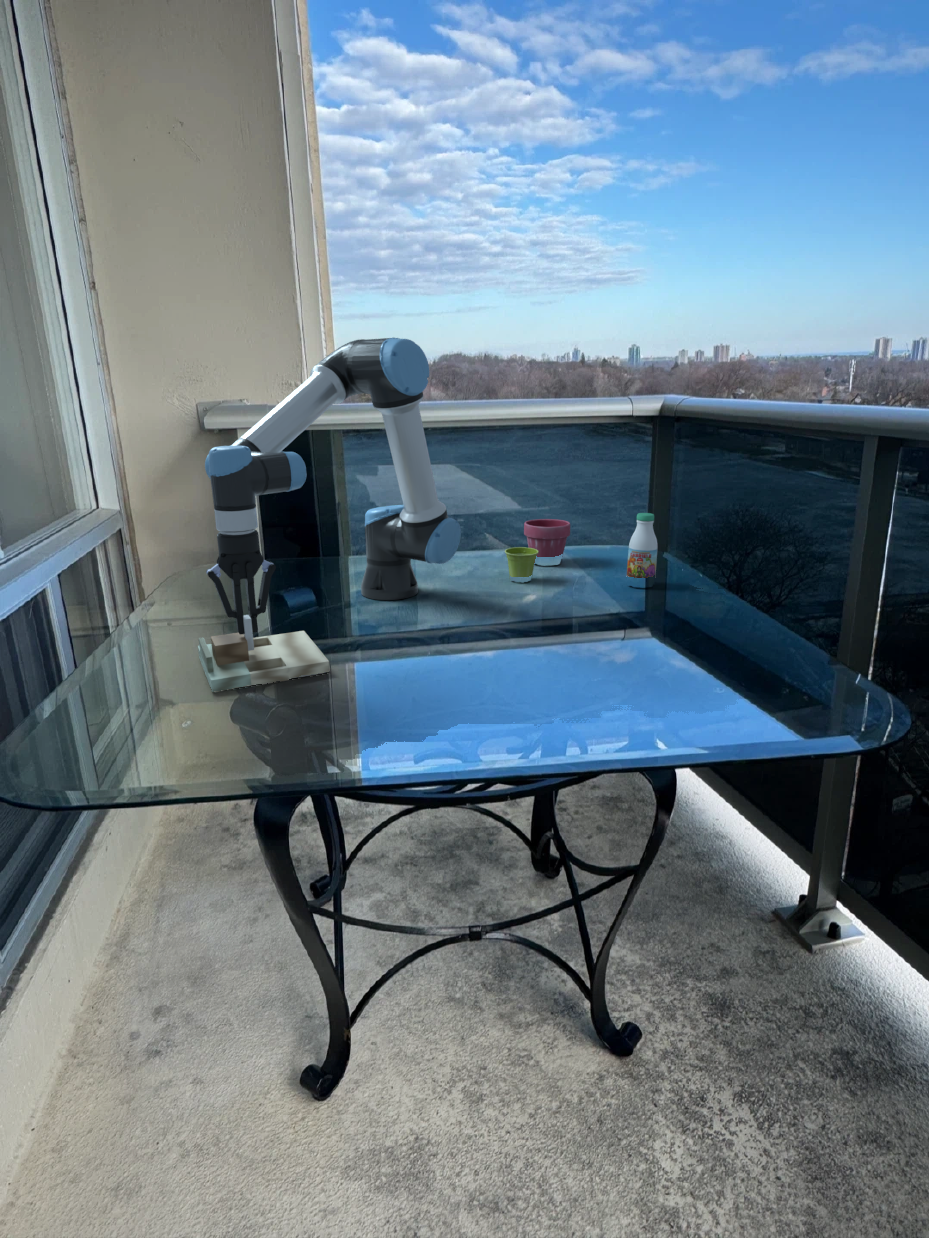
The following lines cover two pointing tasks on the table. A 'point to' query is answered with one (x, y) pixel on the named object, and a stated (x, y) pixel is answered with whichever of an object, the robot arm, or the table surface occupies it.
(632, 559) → the milk bottle
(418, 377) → the robot arm
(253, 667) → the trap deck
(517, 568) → the plant pot
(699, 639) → the table surface
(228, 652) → the block
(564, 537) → the plant pot
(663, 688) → the table surface
